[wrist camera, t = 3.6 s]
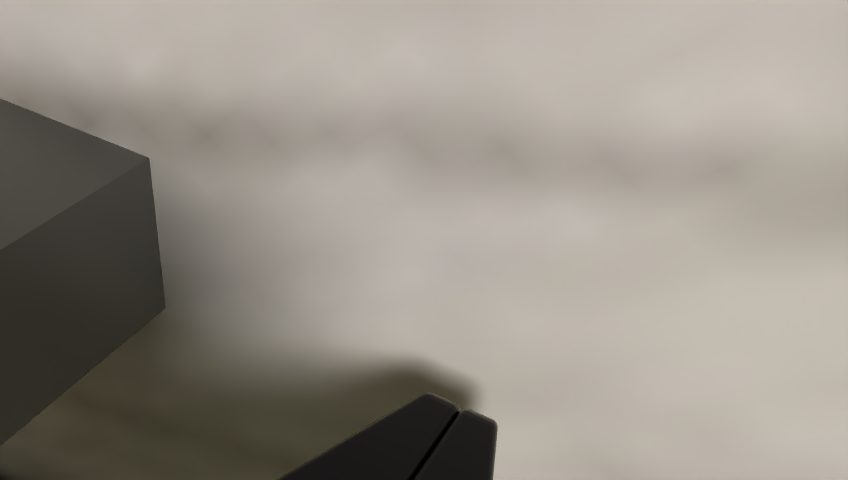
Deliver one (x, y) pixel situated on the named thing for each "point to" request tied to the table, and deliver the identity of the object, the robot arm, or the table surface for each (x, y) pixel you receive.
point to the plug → (68, 258)
